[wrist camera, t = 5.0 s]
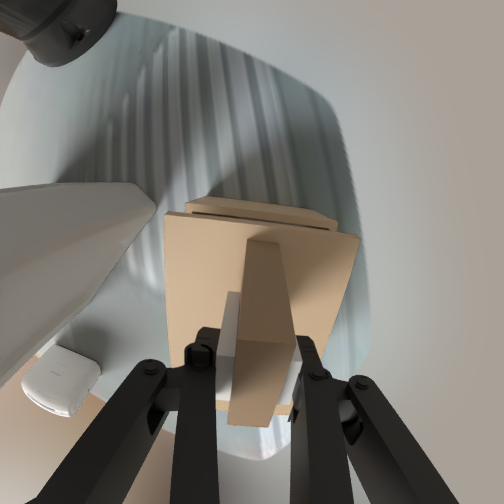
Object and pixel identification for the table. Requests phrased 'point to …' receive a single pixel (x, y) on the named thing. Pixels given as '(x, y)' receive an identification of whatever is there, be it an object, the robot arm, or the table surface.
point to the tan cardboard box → (254, 297)
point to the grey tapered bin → (59, 256)
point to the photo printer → (60, 380)
